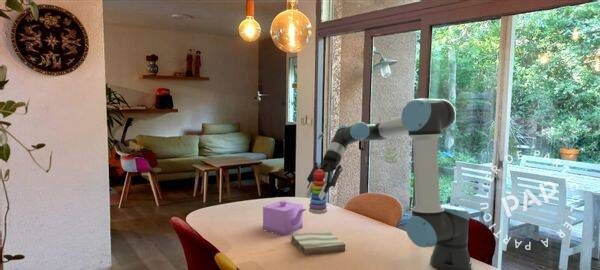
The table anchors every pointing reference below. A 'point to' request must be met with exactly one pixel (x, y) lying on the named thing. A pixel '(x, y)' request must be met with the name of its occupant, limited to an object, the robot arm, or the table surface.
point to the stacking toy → (317, 204)
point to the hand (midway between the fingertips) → (313, 196)
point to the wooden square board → (318, 243)
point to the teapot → (283, 217)
